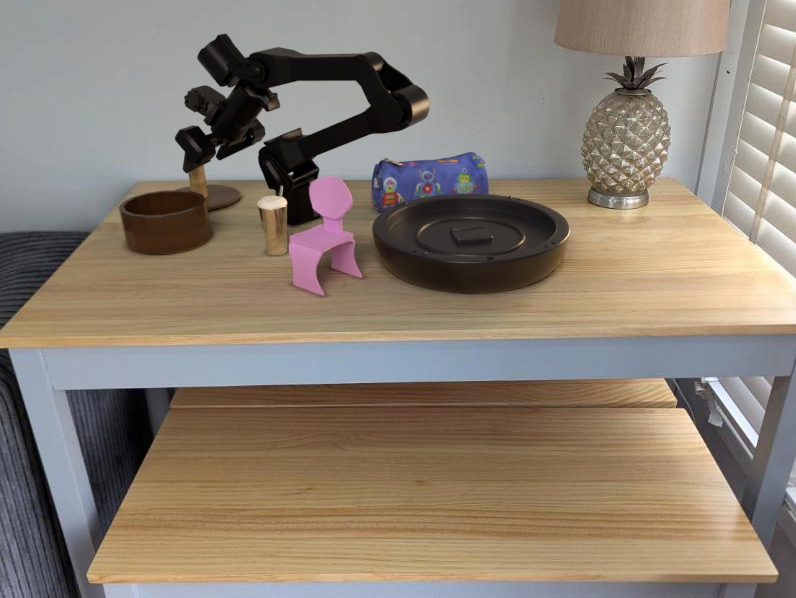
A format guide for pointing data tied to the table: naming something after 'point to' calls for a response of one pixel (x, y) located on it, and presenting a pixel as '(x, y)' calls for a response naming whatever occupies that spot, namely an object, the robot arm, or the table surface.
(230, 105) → the robot arm
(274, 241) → the milkshake
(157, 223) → the bowl
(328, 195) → the toy chair
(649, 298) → the table surface
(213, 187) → the lid
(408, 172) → the pencil case
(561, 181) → the table surface
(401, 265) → the round tray
